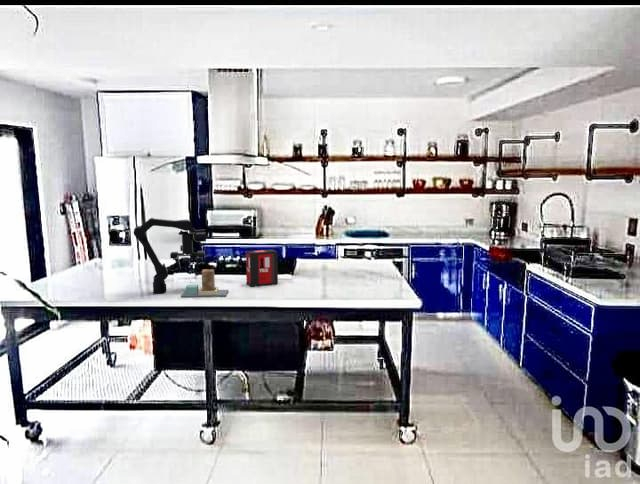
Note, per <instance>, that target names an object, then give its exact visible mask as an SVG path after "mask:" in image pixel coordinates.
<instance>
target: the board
mask: <svg viewBox="0 0 640 484" xmlns="http://www.w3.org/2000/svg"><path fill="white" fill-rule="evenodd" d="M228 293H229V289H219V287H218V286H215V291H202V286H201V287H200V289H199V284H187V285H186V286H185V288H184V291H183V293H181V295H180V298H184V299H185V298H186V299H187V298H225V297H226V298H227V297H228Z"/></svg>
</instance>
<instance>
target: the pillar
mask: <svg viewBox="0 0 640 484" xmlns="http://www.w3.org/2000/svg"><path fill="white" fill-rule="evenodd" d="M215 282H216V281H215V269H214V268H213V269H212V268H211V269H207V268H206V269H205V268H204V269H202V271H201V287H202V291H215V287H216V285H215Z"/></svg>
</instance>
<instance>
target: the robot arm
mask: <svg viewBox="0 0 640 484" xmlns="http://www.w3.org/2000/svg"><path fill="white" fill-rule="evenodd" d="M155 226H156V227H166V228H173V229H174V228H175V229H179V232H178V235H179V236H181V245H180V249H179V250H180V252H181V253H180V252H179V251H170V255H169V257H170V259H172V260H173V261H175V262H176V265H177V267H178V270H179V271H181V263H180V257H196V258H197V259H196V265H195V268H196V270H198V267H199V264H200V261H201V260H202V259H204V258H205V257H206V253H205V251H204V250H197V252H194V247H193V244H194V242H193V241H195V242H196V243H201V242H202V243H203V242H207V234H206V229H195V228H194V227H193V223H192V222H191V220H190V219H179V220H177V219H176V220H172V219H161V218H154V217H150V218H149V219H148V220H146V221H145V222H144V223H142V224H141V225H137V226H135V227H134V228H133V235H134V236H135V238H136V239H137V241H138V242H140V244H141V245H142V247H143V249H144V250H145V253H147V256H148V258H149V260H150V262H151V263H152V264H153V268H154V271H155V275H154V276H153V277H152V280H153V281H152V295H159V294H163V295H164V294H166V292H167V283H166V281H165V280H166V279H167V278H168V276H169V273H168V272H169V269H168V268H167V267H166V265H165V263H163V264H162V262H160V259H159V258H158V256H157V254H156V252H155V250H154V249H153V247H152V245H151V243H150V241H149V240H148V236H147V233H146V232H148V230H150V229H151V228H152V227H155Z"/></svg>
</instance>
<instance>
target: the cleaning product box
mask: <svg viewBox="0 0 640 484" xmlns="http://www.w3.org/2000/svg"><path fill="white" fill-rule="evenodd" d="M278 263H279V261H278V251H277V250H274V249H257V250H246V251H245V269H246V270H245V271H246V273H245V274H246V285H247V286H249V288H257V287H259V288H260V287H267V286H276V285H277V284H278V285H279V282H278V281H279V280H278V279H279V278H278V277H279V276H278V275H279V270H278V269H279V266H278Z"/></svg>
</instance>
